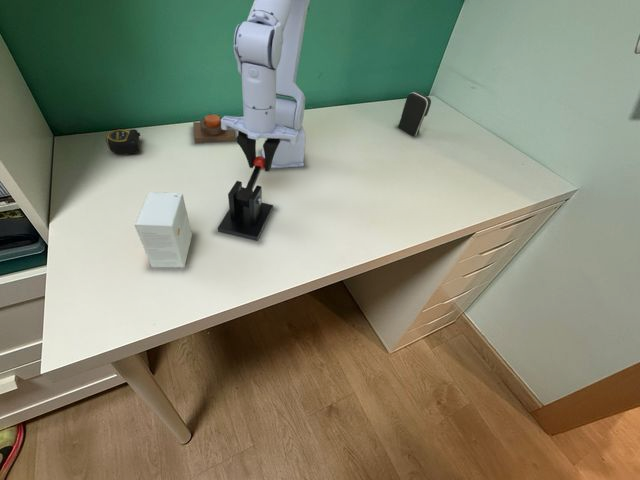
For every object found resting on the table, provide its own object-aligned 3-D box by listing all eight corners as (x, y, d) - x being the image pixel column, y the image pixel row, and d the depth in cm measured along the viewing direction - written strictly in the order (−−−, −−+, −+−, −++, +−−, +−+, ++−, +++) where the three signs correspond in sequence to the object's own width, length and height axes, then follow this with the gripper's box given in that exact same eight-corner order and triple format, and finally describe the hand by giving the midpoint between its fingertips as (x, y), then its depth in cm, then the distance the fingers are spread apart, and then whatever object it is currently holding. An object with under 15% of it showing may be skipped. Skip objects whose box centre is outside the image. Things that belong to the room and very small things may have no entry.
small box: (162, 234, 62) (147, 190, 54) (193, 235, 62) (183, 192, 55) (150, 268, 56) (132, 224, 48) (184, 268, 57) (172, 225, 49)
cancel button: (219, 120, 87) (219, 114, 86) (220, 127, 84) (220, 121, 83) (205, 121, 86) (204, 114, 85) (206, 127, 83) (205, 121, 82)
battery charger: (421, 134, 102) (435, 98, 94) (414, 137, 100) (427, 100, 92) (404, 124, 105) (415, 88, 97) (396, 127, 103) (408, 91, 95)
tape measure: (141, 156, 77) (137, 142, 74) (108, 158, 75) (102, 144, 72) (142, 141, 81) (138, 127, 79) (111, 142, 79) (106, 128, 77)
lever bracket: (237, 200, 71) (234, 170, 65) (273, 209, 70) (273, 179, 64) (218, 232, 64) (213, 201, 58) (257, 241, 63) (256, 211, 58)
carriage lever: (256, 161, 69) (255, 151, 66) (269, 164, 69) (268, 154, 66) (237, 205, 63) (234, 197, 61) (251, 209, 63) (249, 200, 61)
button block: (232, 127, 91) (231, 115, 89) (235, 142, 86) (234, 129, 84) (194, 128, 89) (192, 115, 86) (195, 143, 83) (193, 131, 81)
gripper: (210, 103, 55) (218, 170, 65) (293, 121, 55) (289, 186, 64) (227, 87, 60) (232, 152, 70) (303, 103, 59) (297, 166, 69)
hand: (260, 167), depth 68 cm, fingers closed on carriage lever, 3 cm apart
